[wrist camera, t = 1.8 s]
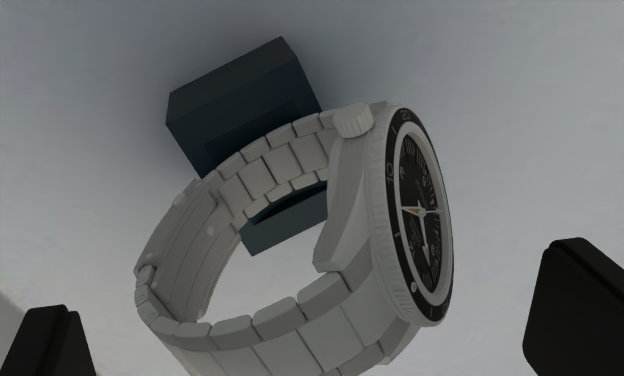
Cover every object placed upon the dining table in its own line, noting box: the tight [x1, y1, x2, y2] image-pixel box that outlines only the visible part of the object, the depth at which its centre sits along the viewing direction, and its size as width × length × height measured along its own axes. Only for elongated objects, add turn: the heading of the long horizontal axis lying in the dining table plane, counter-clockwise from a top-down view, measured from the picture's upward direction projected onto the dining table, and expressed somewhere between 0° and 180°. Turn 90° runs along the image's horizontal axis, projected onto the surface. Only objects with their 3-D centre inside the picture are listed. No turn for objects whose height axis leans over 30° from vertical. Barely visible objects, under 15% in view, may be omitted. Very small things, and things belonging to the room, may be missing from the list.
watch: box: [134, 36, 454, 376], centre depth 14 cm, size 6×8×11 cm
